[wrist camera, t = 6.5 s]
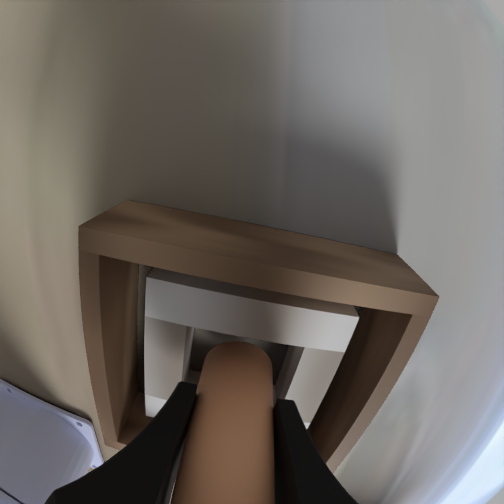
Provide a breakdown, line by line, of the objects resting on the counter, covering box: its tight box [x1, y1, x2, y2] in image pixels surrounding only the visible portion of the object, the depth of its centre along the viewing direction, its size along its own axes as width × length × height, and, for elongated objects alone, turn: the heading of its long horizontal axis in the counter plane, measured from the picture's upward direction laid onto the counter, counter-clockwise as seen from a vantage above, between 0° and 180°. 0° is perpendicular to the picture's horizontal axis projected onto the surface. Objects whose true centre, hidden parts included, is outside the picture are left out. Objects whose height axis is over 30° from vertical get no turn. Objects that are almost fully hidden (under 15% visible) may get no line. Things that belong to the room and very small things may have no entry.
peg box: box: [79, 200, 439, 474], centre depth 13 cm, size 12×12×4 cm
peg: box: [170, 341, 275, 504], centre depth 9 cm, size 3×3×8 cm
